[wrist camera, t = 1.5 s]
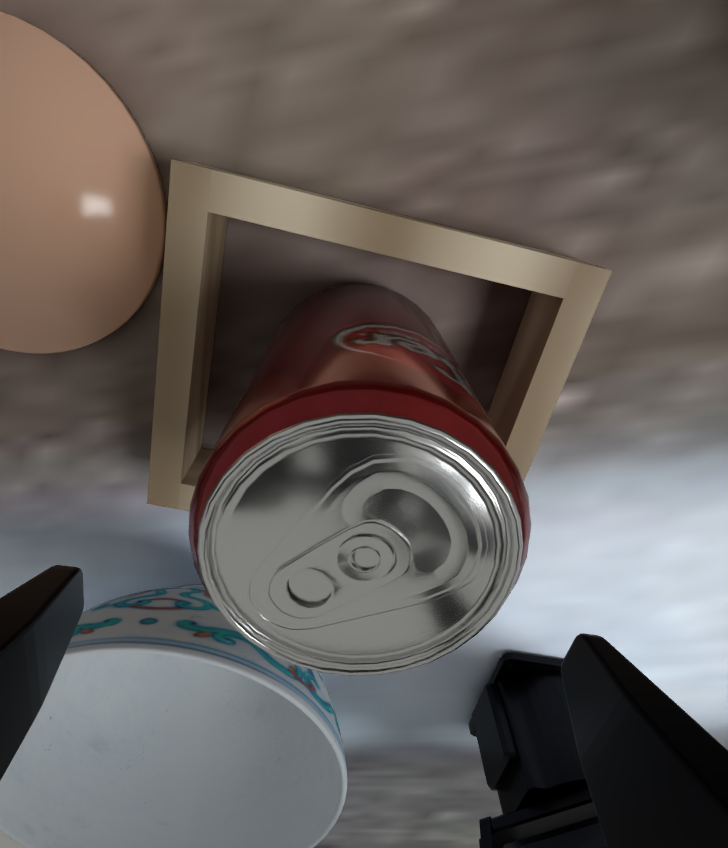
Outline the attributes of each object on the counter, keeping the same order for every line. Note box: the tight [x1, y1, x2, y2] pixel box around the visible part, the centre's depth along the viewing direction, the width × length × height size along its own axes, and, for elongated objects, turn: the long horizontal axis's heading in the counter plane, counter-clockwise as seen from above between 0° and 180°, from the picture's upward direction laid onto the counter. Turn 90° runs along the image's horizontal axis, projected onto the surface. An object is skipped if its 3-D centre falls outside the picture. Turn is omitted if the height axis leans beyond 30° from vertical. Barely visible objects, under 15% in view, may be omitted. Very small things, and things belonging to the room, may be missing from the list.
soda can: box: [189, 284, 531, 675], centre depth 16 cm, size 7×7×12 cm
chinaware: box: [0, 585, 347, 848], centre depth 24 cm, size 15×15×8 cm
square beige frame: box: [147, 159, 612, 511], centre depth 20 cm, size 14×12×3 cm
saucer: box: [0, 12, 167, 354], centre depth 18 cm, size 11×11×1 cm
